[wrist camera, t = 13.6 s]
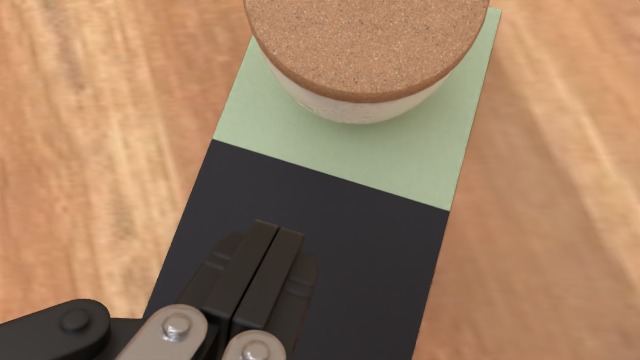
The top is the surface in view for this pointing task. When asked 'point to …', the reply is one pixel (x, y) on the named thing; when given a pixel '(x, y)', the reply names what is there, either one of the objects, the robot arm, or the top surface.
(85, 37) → the top surface
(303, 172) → the runner mat
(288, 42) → the trinket box
